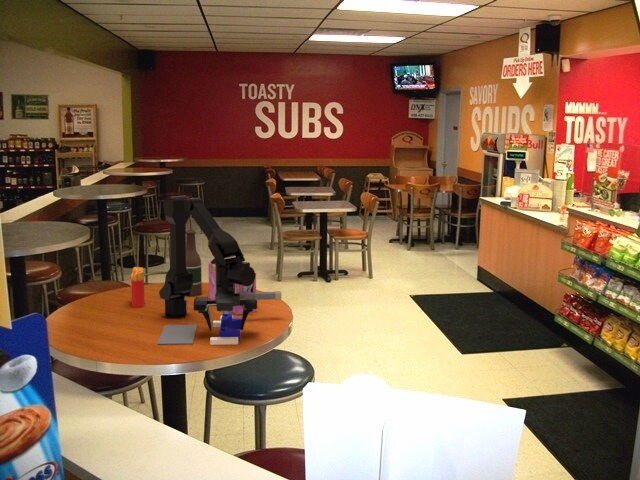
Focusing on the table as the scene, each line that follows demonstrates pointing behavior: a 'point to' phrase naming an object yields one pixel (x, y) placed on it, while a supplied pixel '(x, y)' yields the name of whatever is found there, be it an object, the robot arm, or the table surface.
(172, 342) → the mat
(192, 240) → the beer bottle
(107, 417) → the table surface
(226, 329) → the cable clip
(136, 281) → the french fries
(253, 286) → the gum box
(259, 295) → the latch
